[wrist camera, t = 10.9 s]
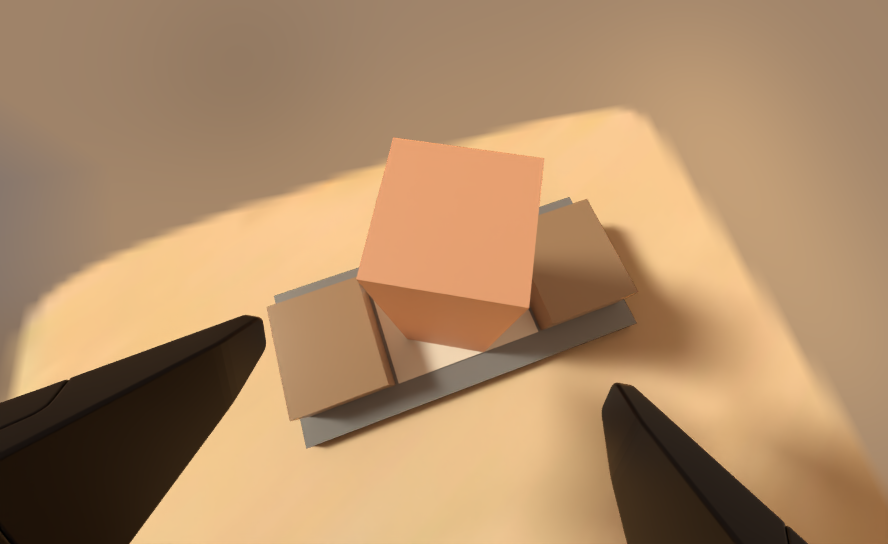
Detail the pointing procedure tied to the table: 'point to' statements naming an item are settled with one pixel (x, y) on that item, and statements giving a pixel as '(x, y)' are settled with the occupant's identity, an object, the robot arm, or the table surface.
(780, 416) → the table surface
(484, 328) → the wooden post
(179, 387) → the robot arm
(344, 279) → the rail
